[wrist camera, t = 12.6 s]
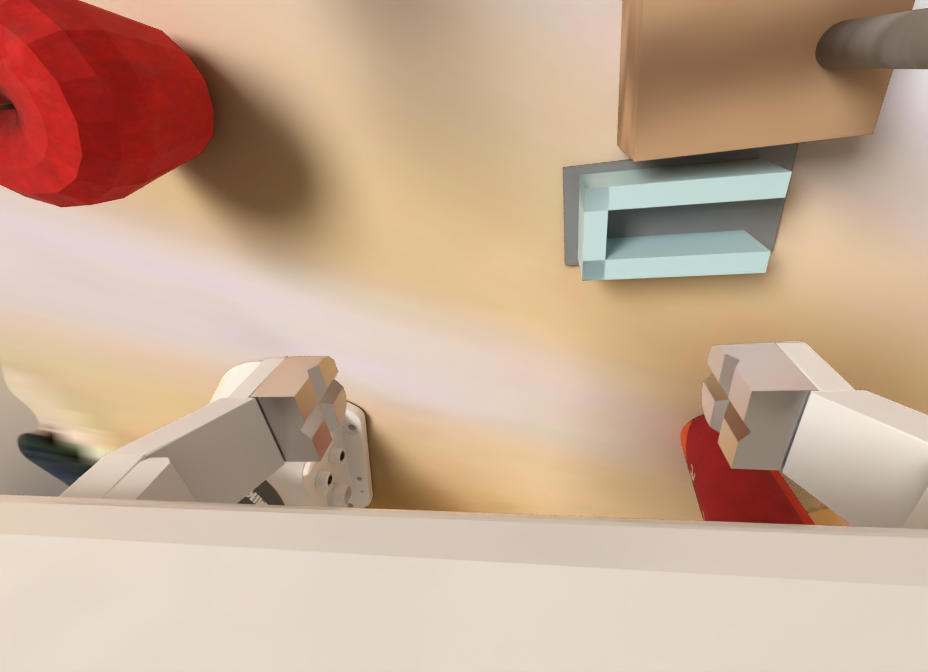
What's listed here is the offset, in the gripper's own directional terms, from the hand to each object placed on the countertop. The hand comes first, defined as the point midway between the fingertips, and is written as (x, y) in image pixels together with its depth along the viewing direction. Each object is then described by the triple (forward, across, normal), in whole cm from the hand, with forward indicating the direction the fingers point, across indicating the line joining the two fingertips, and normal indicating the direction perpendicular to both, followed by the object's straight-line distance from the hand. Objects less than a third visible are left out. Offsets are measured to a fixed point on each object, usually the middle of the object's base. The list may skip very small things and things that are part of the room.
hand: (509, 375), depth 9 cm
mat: (+24, +10, -3) cm, 26 cm away
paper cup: (+24, +16, -25) cm, 38 cm away
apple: (+24, -24, +8) cm, 35 cm away
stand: (+24, +12, +5) cm, 27 cm away
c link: (+23, +9, -3) cm, 25 cm away
